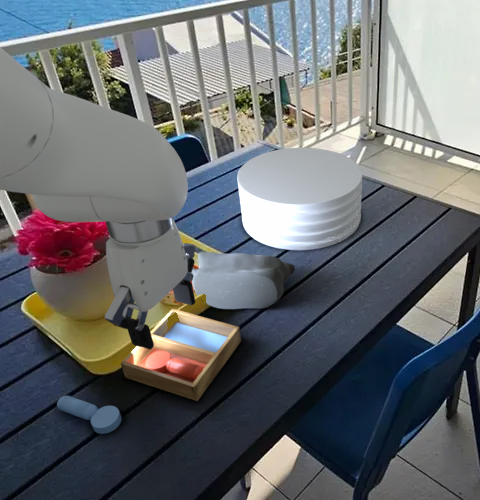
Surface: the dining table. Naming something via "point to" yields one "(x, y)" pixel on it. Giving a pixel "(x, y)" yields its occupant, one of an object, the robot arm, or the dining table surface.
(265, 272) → the rock
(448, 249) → the dining table surface
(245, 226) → the plate stack
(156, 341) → the caddy
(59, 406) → the blue disc-ended peg
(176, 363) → the red knob peg
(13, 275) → the dining table surface
